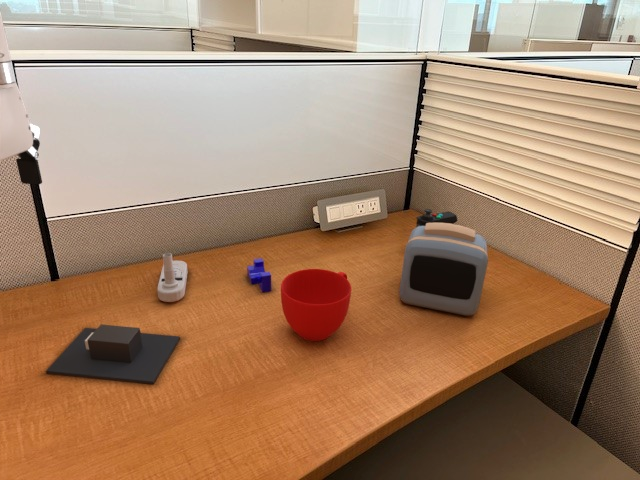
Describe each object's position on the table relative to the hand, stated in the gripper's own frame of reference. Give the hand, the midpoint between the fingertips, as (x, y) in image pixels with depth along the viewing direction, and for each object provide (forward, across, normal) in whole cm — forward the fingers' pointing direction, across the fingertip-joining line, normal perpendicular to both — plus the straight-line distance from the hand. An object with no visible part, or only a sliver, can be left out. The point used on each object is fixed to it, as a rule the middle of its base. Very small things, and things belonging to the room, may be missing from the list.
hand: (11, 193), depth 73 cm
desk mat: (+28, +1, +13) cm, 31 cm away
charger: (+28, +1, +13) cm, 31 cm away
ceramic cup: (+28, -13, +47) cm, 56 cm away
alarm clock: (+28, -29, +72) cm, 83 cm away
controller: (+28, -56, +74) cm, 97 cm away
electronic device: (+28, -23, +14) cm, 39 cm away
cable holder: (+28, -27, +32) cm, 51 cm away
